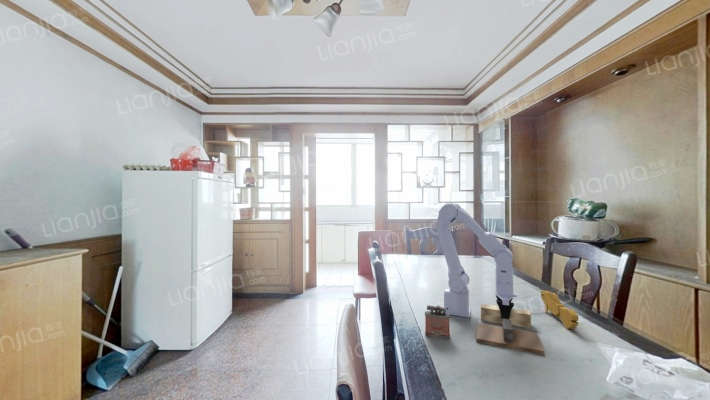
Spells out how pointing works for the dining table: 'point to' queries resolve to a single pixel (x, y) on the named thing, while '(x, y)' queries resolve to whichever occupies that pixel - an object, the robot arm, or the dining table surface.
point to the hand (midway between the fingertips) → (504, 317)
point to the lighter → (437, 322)
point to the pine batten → (516, 317)
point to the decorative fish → (559, 310)
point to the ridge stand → (509, 337)
